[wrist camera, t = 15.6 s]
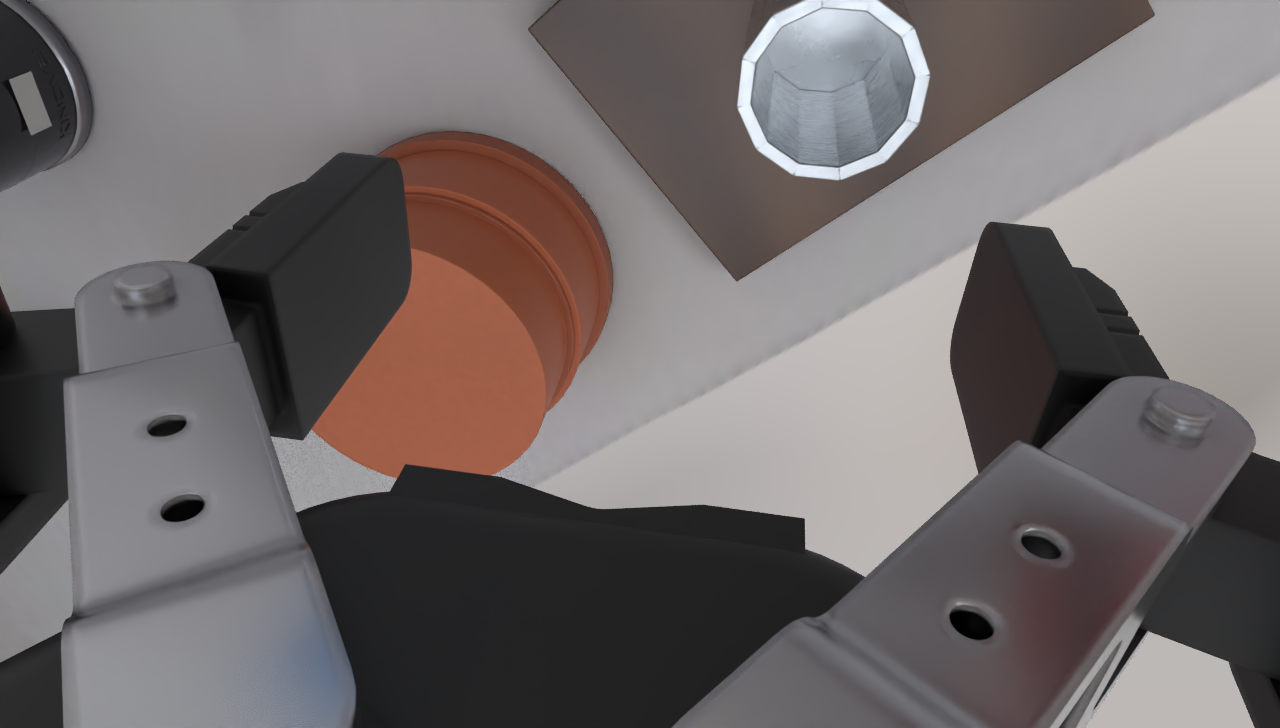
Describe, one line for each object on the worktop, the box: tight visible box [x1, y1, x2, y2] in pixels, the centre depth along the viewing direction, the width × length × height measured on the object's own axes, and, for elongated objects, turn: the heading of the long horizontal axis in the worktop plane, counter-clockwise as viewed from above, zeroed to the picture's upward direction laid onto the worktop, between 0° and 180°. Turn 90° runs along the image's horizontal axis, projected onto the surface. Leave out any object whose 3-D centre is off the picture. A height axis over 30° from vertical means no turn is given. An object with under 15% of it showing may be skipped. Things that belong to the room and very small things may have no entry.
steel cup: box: [736, 0, 931, 181], centre depth 32 cm, size 6×6×9 cm
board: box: [528, 0, 1154, 281], centre depth 37 cm, size 20×15×2 cm
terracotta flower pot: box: [312, 132, 613, 478], centre depth 43 cm, size 15×15×10 cm
